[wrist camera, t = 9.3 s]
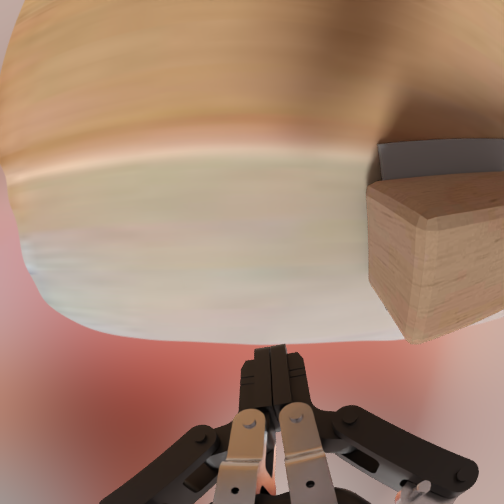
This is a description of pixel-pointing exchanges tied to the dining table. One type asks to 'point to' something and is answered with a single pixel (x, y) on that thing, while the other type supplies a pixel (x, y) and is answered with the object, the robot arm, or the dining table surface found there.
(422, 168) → the rubber mat
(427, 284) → the wooden block
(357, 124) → the dining table surface
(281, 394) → the robot arm
